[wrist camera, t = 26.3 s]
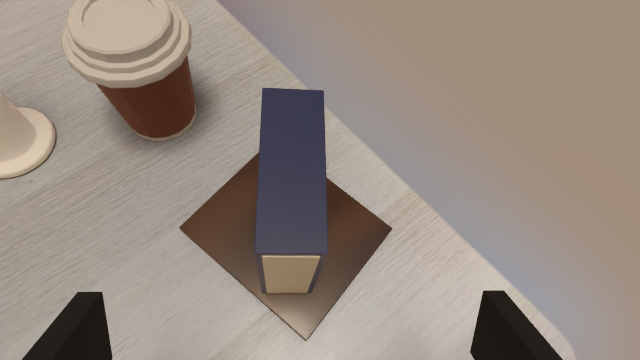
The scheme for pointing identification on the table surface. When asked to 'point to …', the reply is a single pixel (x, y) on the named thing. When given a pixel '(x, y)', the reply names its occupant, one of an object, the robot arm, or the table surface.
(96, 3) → the coffee cup
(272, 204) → the small book
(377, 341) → the table surface
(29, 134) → the candle
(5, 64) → the table surface
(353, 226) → the placemat
